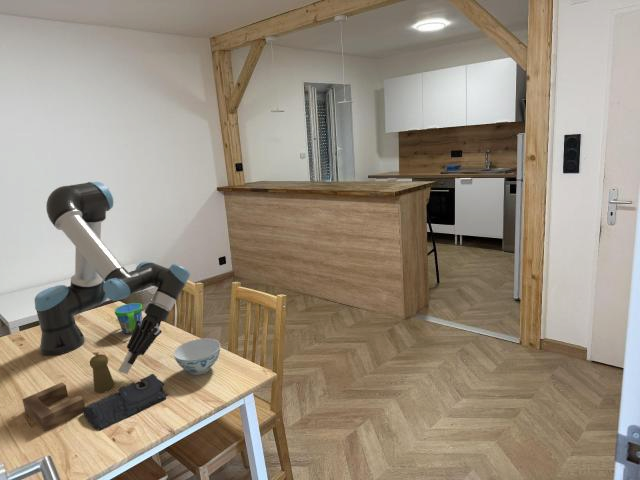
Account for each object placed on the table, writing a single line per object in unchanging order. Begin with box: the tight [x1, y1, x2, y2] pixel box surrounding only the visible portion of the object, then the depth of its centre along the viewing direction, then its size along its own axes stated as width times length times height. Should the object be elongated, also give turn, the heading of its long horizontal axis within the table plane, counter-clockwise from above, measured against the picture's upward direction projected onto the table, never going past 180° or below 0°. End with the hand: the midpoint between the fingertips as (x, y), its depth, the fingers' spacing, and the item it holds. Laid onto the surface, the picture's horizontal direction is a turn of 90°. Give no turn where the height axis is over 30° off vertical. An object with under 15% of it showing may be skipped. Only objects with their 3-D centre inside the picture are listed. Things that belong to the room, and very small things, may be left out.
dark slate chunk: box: [82, 373, 169, 431], centre depth 131 cm, size 15×22×5 cm
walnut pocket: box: [21, 382, 86, 432], centre depth 130 cm, size 11×16×4 cm
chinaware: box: [173, 337, 221, 376], centre depth 147 cm, size 15×15×8 cm
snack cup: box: [114, 302, 143, 334], centre depth 183 cm, size 16×10×10 cm
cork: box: [89, 354, 116, 394], centre depth 140 cm, size 6×6×11 cm
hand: (122, 372), depth 144 cm, fingers closed
